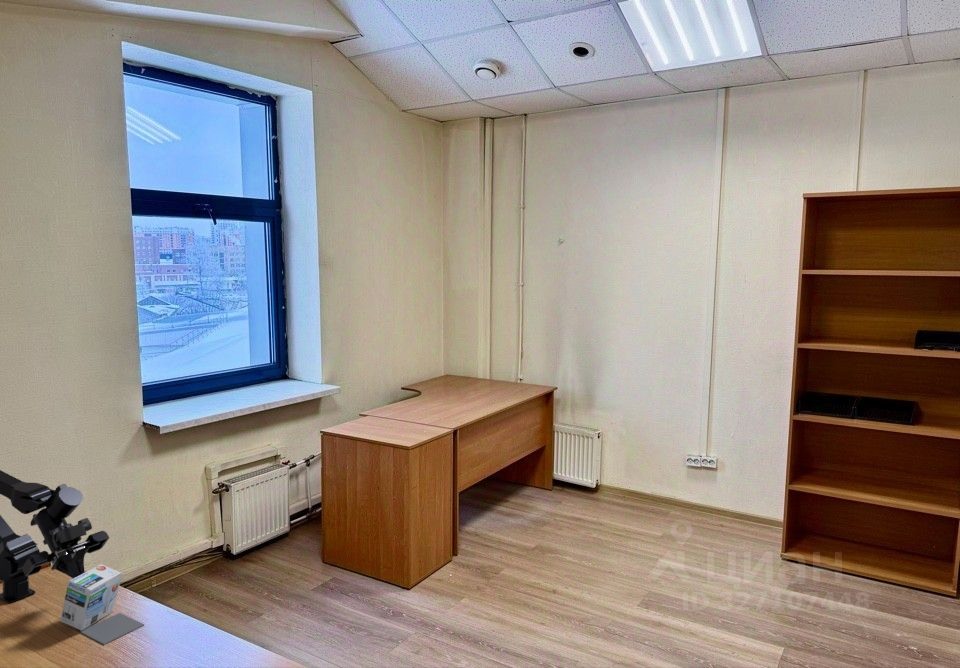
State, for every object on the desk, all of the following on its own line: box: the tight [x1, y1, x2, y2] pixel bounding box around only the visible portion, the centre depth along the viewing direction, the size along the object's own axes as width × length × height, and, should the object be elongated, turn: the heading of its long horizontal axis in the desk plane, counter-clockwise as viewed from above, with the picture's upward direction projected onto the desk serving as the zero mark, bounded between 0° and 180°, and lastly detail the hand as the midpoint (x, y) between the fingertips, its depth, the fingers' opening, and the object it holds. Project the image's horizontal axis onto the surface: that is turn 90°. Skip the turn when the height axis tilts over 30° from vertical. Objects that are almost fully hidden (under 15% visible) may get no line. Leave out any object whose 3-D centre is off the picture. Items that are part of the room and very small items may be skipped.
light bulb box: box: [59, 563, 123, 631], centre depth 165 cm, size 11×7×11 cm, turn 168°
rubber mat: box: [79, 612, 145, 646], centre depth 162 cm, size 10×10×1 cm
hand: (82, 581), depth 165 cm, fingers closed
